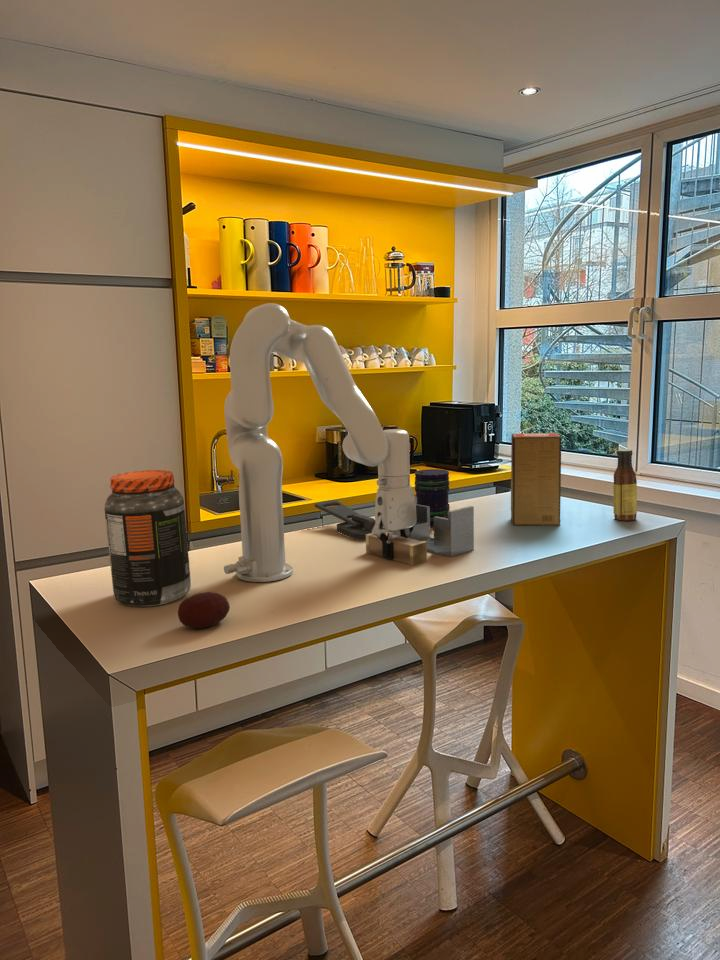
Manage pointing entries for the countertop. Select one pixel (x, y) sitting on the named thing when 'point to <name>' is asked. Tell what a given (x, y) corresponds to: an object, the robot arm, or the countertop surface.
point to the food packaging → (535, 479)
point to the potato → (203, 610)
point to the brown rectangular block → (399, 548)
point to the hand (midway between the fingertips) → (395, 555)
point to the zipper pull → (348, 520)
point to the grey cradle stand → (445, 530)
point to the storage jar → (433, 491)
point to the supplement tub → (147, 538)
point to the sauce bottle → (625, 487)
